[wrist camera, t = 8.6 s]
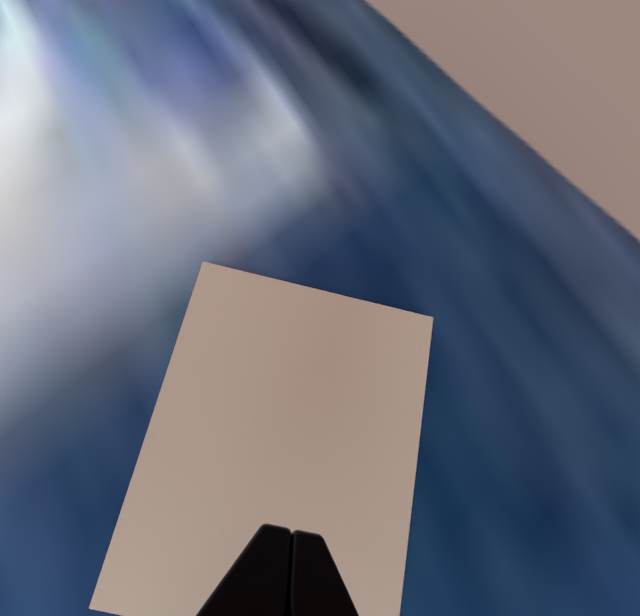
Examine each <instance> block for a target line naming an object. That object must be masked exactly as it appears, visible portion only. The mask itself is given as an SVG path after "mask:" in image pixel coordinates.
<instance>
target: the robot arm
mask: <svg viewBox="0 0 640 616" xmlns="http://www.w3.org/2000/svg"><path fill="white" fill-rule="evenodd" d="M196 616H359V614H358V612H357V610H356V608H355V606H354V604H353V601H352V599H351V597H350V595H349V593H348V590H347V588H346V586H345V584H344V582H343V579H342V577H341V575H340V573H339V571H338V568H337V566H336V564H335V562H334V560H333V558H332V555H331V553H330V551H329V549H328V547H327V544H326V542H325V540H324V538H323V537H322V536H321V535H320V534H317V533H312V532H307V531H302V530H294V531H293V532H292V533H291V530H290V529H289V528H287V527H283V526H278V525H273V524H268V523H265V524H262V525H261V526H260V527H259V529H258V530H257V531H256V533H255V534H254V536H253V537H252V538H251V540H250V541H249V543H248V544H247V545H246V547H245V548H244V549H243V551H242V552H241V554H240V555H239V556H238V558H237V559H236V560H235V562H234V563H233V565H232V566H231V567H230V569H229V570H228V572H227V573H226V574H225V576H224V577H223V578H222V580H221V581H220V583H219V584H218V585H217V587H216V588H215V590H214V591H213V592H212V594H211V595H210V596H209V598H208V599H207V601H206V602H205V603H204V605H203V606H202V608H201V609H200V610H199V612H198V613H197V614H196Z"/></svg>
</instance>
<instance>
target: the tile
mask: <svg viewBox="0 0 640 616" xmlns="http://www.w3.org/2000/svg"><path fill="white" fill-rule="evenodd" d="M432 325H433V317H430V316H426V315H421V314H417V313H413V312H409V311H405V310H401V309H397V308H393V307H389V306H384V305H380V304H376V303H372V302H368V301H364V300H360V299H356V298H351V297H347V296H343V295H339V294H335V293H331V292H327V291H323V290H319V289H314V288H310V287H306V286H302V285H298V284H294V283H290V282H286V281H281V280H277V279H273V278H269V277H265V276H261V275H257V274H253V273H249V272H244V271H240V270H236V269H232V268H228V267H224V266H220V265H216V264H212V263H207V262H202V265H201V268H200V271H199V274H198V277H197V280H196V284H195V287H194V290H193V293H192V296H191V299H190V302H189V305H188V308H187V311H186V314H185V317H184V320H183V323H182V326H181V329H180V332H179V335H178V338H177V341H176V344H175V347H174V350H173V354H172V357H171V360H170V363H169V366H168V369H167V372H166V375H165V378H164V381H163V384H162V387H161V390H160V393H159V396H158V399H157V402H156V405H155V408H154V411H153V414H152V417H151V420H150V424H149V427H148V430H147V433H146V436H145V439H144V442H143V445H142V448H141V451H140V454H139V457H138V460H137V463H136V466H135V469H134V472H133V475H132V478H131V481H130V484H129V487H128V490H127V494H126V497H125V500H124V503H123V506H122V509H121V512H120V515H119V518H118V521H117V524H116V527H115V530H114V533H113V536H112V539H111V542H110V545H109V548H108V551H107V554H106V557H105V560H104V564H103V567H102V570H101V573H100V576H99V579H98V582H97V585H96V588H95V591H94V594H93V597H92V600H91V603H90V606H89V609H93V610H98V611H102V612H107V613H112V614H117V615H122V616H196V614H197V613H198V612H199V610H200V609H201V608H202V606H203V605H204V603H205V602H206V601H207V599H208V598H209V596H210V595H211V594H212V592H213V591H214V590H215V588H216V587H217V585H218V584H219V583H220V581H221V580H222V578H223V577H224V576H225V574H226V573H227V572H228V570H229V569H230V567H231V566H232V565H233V563H234V562H235V560H236V559H237V558H238V556H239V555H240V554H241V552H242V551H243V549H244V548H245V547H246V545H247V544H248V543H249V541H250V540H251V538H252V537H253V536H254V534H255V533H256V531H257V530H258V529H259V527H260V526H261V525H262V524H265V523H268V524H273V525H278V526H283V527H287V528H289V529H290V530H291V533H292V532H293V531H294V530H302V531H307V532H312V533H317V534H320V535H321V536H322V537H323V538H324V540H325V542H326V544H327V547H328V549H329V551H330V553H331V555H332V558H333V560H334V562H335V564H336V566H337V568H338V571H339V573H340V575H341V577H342V579H343V582H344V584H345V586H346V588H347V590H348V593H349V595H350V597H351V599H352V601H353V604H354V606H355V608H356V610H357V612H358V614H359V616H399V615H400V607H401V598H402V589H403V580H404V571H405V563H406V554H407V545H408V536H409V527H410V519H411V510H412V501H413V492H414V483H415V475H416V466H417V457H418V448H419V439H420V430H421V422H422V413H423V404H424V395H425V386H426V378H427V369H428V360H429V351H430V342H431V334H432Z"/></svg>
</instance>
